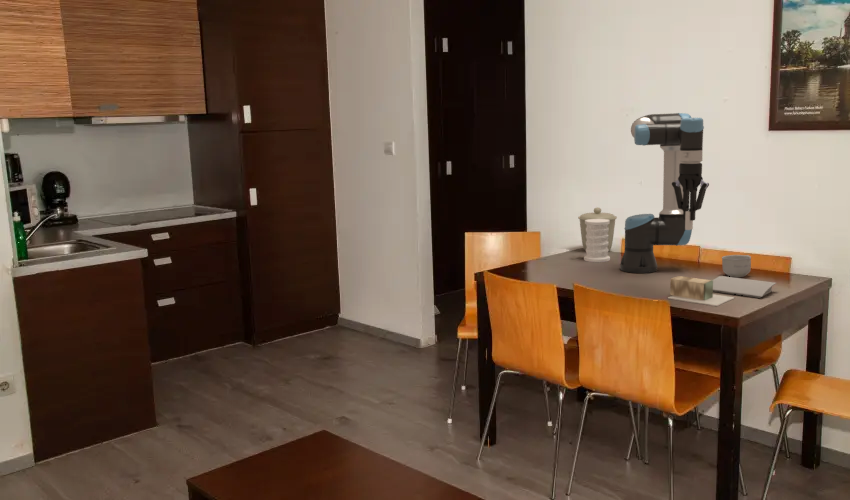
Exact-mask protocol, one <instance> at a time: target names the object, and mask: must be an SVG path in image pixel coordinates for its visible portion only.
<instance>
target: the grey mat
mask: <svg viewBox="0 0 850 500" xmlns="http://www.w3.org/2000/svg"><path fill="white" fill-rule="evenodd" d="M667 299H668V300H675V301H679V302H685V303H687V302H688V303H692V304H699V305H706V306H713V307H719V306H721V305H724V304H726V303H728V302H730V301H732V300H733V299H734V300H735V296H729V295H720V294H715V293H713V297H712V298H709V299H707V300H700V299H693V298H687V297H680V296H674V295H669V296H668V297H667Z"/></svg>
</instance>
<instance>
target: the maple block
mask: <svg viewBox="0 0 850 500" xmlns="http://www.w3.org/2000/svg"><path fill="white" fill-rule="evenodd" d="M713 280H714V279H705V278H696V277H690V276H681V275H677V276H675V277H672V278H670V281H669V282H670V288H669V291H670V292H669V294H670V295H669V296H673V295H674V296H680V297H687V298H693V299H700V300H707V299H709V298H712V297H713V294H714V292H713Z"/></svg>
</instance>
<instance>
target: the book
mask: <svg viewBox="0 0 850 500" xmlns="http://www.w3.org/2000/svg"><path fill="white" fill-rule="evenodd" d="M712 280H713V293H714V292H715V293H722V294H727V295H734V294H736V295H735V296H741V295H743V297H751V298H755V299H760V298H762V297H764V296H766V295H768V294H771V292H772V288H773V287H774V286H775V285H777V282H773V281H765V280H764V281H763V280H756V279H749V278H742V277H729V276H725V275H724V276H723V275H719V276H717V277H716V278H714V279H712Z"/></svg>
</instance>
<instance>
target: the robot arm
mask: <svg viewBox="0 0 850 500" xmlns="http://www.w3.org/2000/svg"><path fill="white" fill-rule="evenodd" d="M704 129H705V126H704V119H703V118H702V117H692V116H691V115H690V114H689V113H686V112H685V113H683V112H682V113H680V112H676V113H659V114H658V113H653V114H646V115H642V116H640V117H638V118H636V120H634V121H633V122H632V125H631V126H630V132H631V136H632V137H633V141H634V144H635V145H636V146H655V145H656V146H658V145H659V148H660V149H661V150H662V151H663V188H662V189H663V191H662V193H663V195H662V201H663V203H662V209H661V211H660V212H659V213H658V215H659V216H658V217H655V214H653V213H642V214H640V213H639V214H634V215H630V216H628V217H627V218H626V219H625V220H624V228H623V229H624V252H623V255H622V257H621V260H620V264H619V269H620V271H622V272H624V273H625V272H626V273H633V274H646V273H647V274H648V273H654V272H657V271H658V264H657V260H656V257H655V253H654V246H675V247H676V246H677V247H678V246H685V245H687V244H689V242H690V241H691V237H692V232H693V230H694V229H693V228H694V226H693V225H694V222H693V221H696V212H697V211H699V210H701V209H702V205H703V204H704V200H705V199H704V198H705V195H706V191H707V188H708V187H709V186H710V183H709V182H706V181H704V180H703V179H704V178H703V176H702V174H703V163H701V162H702V161H703V147H704V146H703V145H704V144H703V143H704V142H703V141H704ZM699 186H700V187H699ZM698 188H699V191H698ZM697 192H698V193H697ZM697 194H698V195H697Z"/></svg>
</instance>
